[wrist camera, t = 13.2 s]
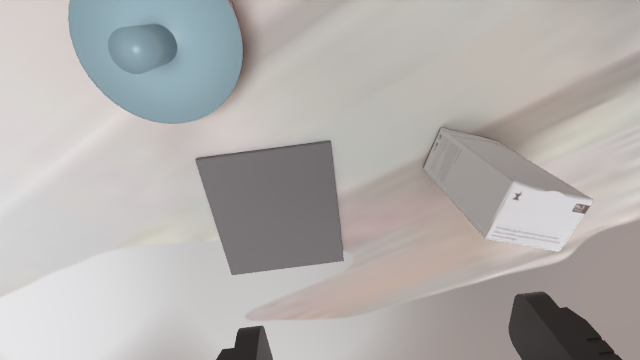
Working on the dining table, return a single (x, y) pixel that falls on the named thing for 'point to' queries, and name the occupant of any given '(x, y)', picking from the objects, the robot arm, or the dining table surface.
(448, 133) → the skincare box
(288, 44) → the dining table surface
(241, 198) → the mat
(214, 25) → the lid
